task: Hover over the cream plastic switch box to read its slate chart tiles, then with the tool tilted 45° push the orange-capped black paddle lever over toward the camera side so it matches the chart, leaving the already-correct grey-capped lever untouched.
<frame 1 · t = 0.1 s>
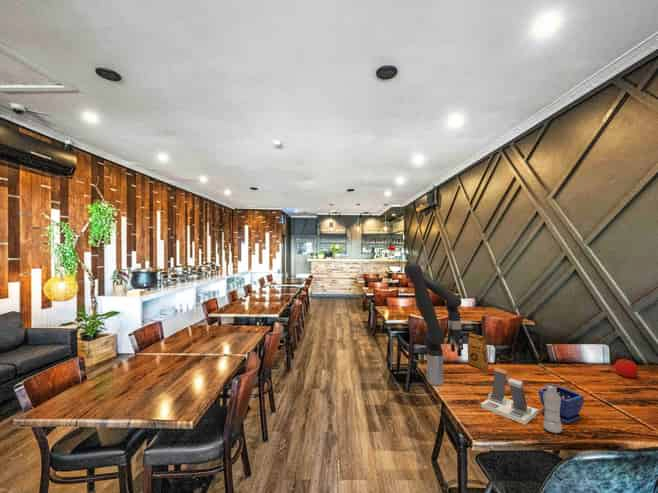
hand: (456, 353, 183), 17 cm above the table, tool pointing down, fingers open, 8 cm apart
switch unit: (509, 410, 148), on the table
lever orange: (499, 384, 155), point 10 cm above the table, hinge at 20.0°
plastic bottle: (552, 431, 131), on the table
tomato: (626, 376, 189), on the table
coffee package: (478, 366, 208), on the table
lever grey: (518, 395, 143), point 10 cm above the table, hinge at -22.0°
flower pot: (561, 417, 142), on the table
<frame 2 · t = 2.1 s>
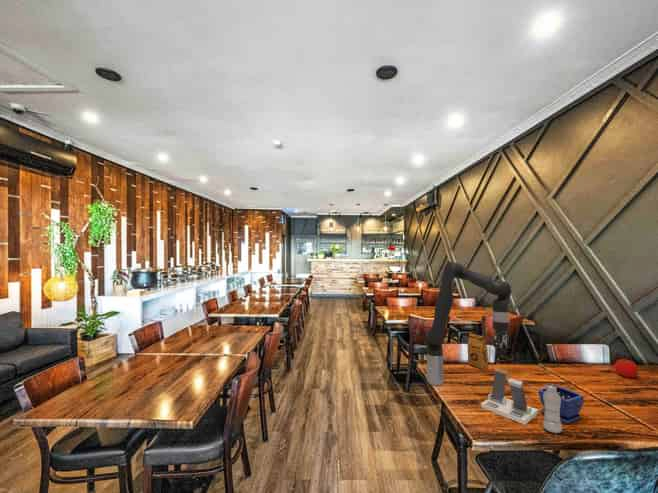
hand: (501, 353, 152), 27 cm above the table, tool pointing down, fingers open, 4 cm apart
nothing on the table moved.
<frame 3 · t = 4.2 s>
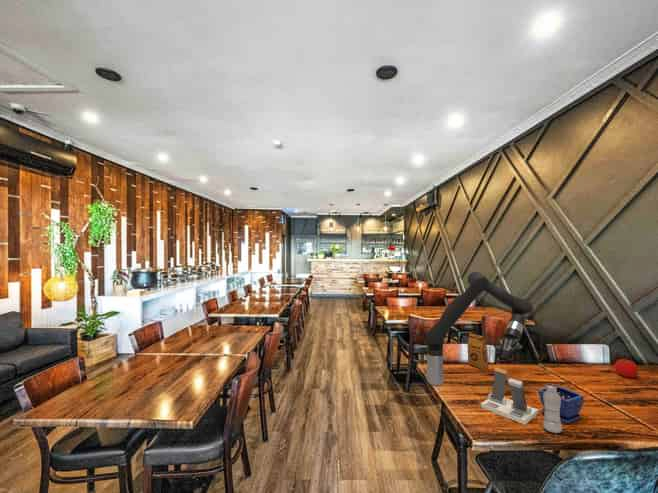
hand: (504, 357, 160), 22 cm above the table, tool tilted 45°, fingers closed
nothing on the table moved.
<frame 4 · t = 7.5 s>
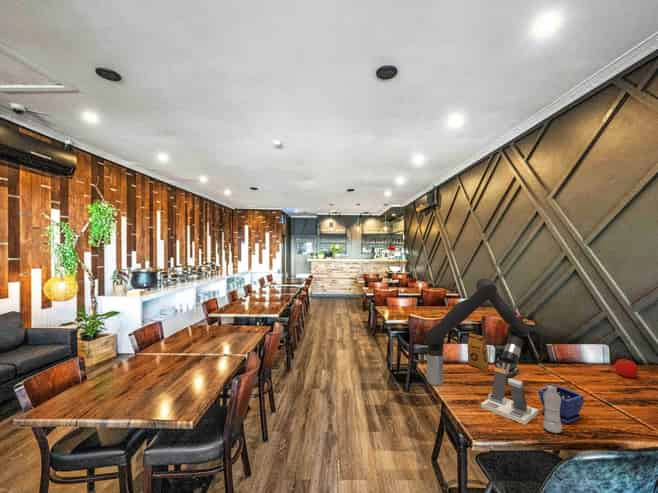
hand: (502, 383, 155), 11 cm above the table, tool tilted 45°, fingers closed
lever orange: (499, 384, 155), point 10 cm above the table, hinge at 19.7°, touching gripper
everything else where it was.
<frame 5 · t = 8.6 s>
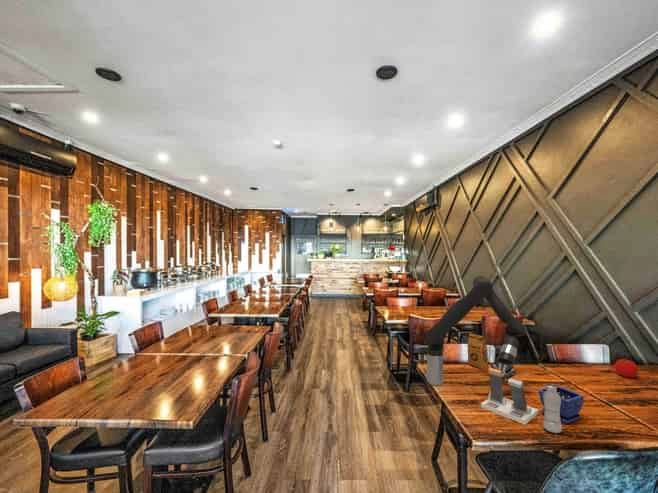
hand: (498, 384, 153), 11 cm above the table, tool tilted 45°, fingers closed
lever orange: (496, 385, 153), point 10 cm above the table, hinge at -6.8°, touching gripper
everything else where it was.
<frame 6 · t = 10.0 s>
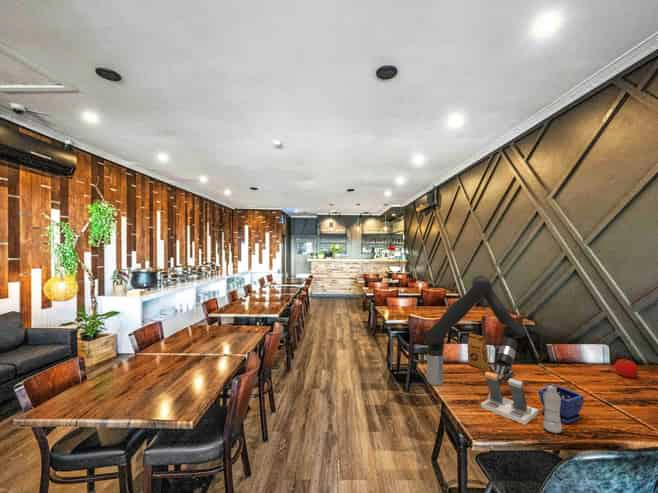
hand: (496, 386, 152), 11 cm above the table, tool tilted 45°, fingers closed
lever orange: (494, 387, 151), point 10 cm above the table, hinge at -22.5°, touching gripper
everything else where it was.
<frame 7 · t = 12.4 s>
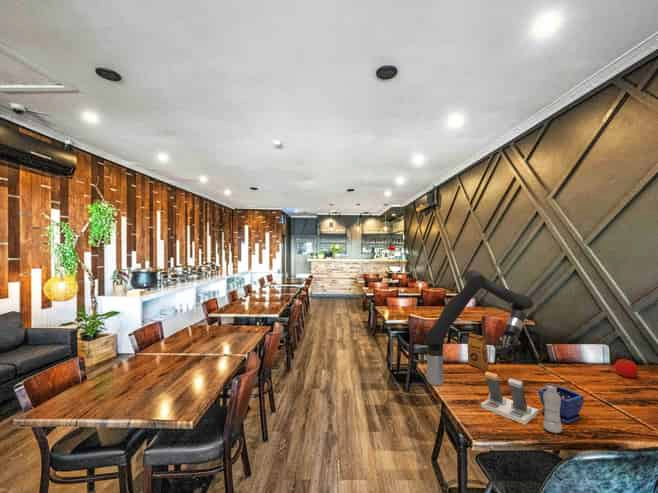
hand: (503, 354, 161), 24 cm above the table, tool tilted 40°, fingers closed
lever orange: (494, 387, 151), point 10 cm above the table, hinge at -22.5°
everything else where it was.
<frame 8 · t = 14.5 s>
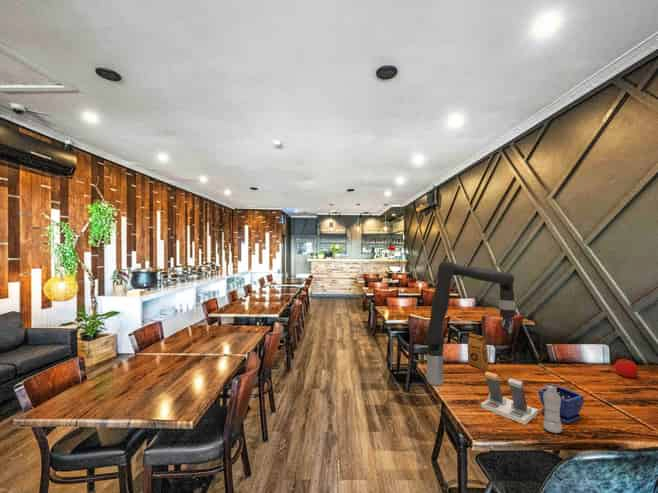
hand: (508, 339, 165), 31 cm above the table, tool pointing down, fingers closed
nothing on the table moved.
at the end: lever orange at -22° (first picture: +20°); lever grey at -22° (first picture: -22°) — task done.
